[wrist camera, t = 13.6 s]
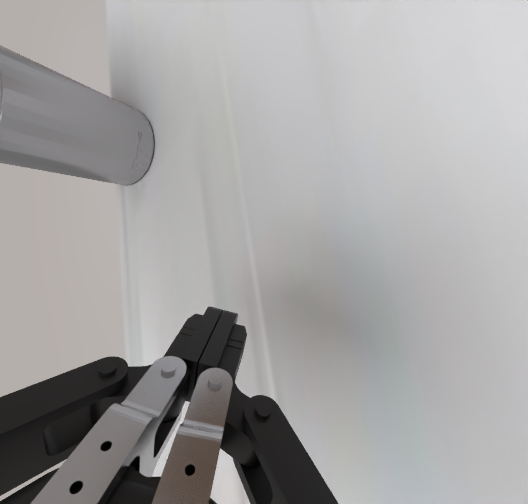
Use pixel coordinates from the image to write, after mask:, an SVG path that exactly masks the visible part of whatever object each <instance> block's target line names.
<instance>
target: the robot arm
mask: <svg viewBox="0 0 528 504" xmlns="http://www.w3.org/2000/svg"><path fill="white" fill-rule="evenodd" d="M153 149H154V138H153V133H152V129H151V126H150V123H149V122H148V120H147V118H146V117H145V116H144V115H143V114H142V113H141V112H139V111H137V110H136V109H133V108H131V107H129V106H127V105H125V104H123V103H121V102H119V101H116V100H114V99H112V98H110V97H108V96H106V95H104V94H102V93H100V92H98V91H96V90H93V89H91V88H89V87H87V86H85V85H83V84H81V83H79V82H77V81H74V80H72V79H70V78H68V77H66V76H64V75H61V74H60V73H57V72H56V71H53V70H51V69H49V68H47V67H45V66H43V65H41V64H39V63H36V62H34V61H32V60H30V59H28V58H26V57H24V56H22V55H20V54H17V53H15V52H13V51H11V50H9V49H7V48H5V47H3V46H0V163H4V164H10V165H15V166H21V167H27V168H33V169H38V170H44V171H49V172H55V173H60V174H65V175H71V176H77V177H82V178H88V179H93V180H98V181H104V182H110V183H115V184H121V185H130V184H133V183H135V182H137V181H138V180H139V179H140V178H141V177H143V175H144V174H145V172H146V171H147V169H148V167H149V165H150V162H151V159H152V156H153ZM237 316H238V314H237V313H233V312H229V311H225V310H224V311H223V310H221V309H217V308H213V307H208V308H207V310H206V312H205V313H204V315H199V314H195V315H193V316H191V317H190V318H188V319H187V321H186V322H185V324H184V325H183V328H182V329H181V330H180V332H179V334H178V335H177V336H176V338H175V340H174V341H173V343H172V344H171V346H170V347H169V349H168V350H167V352H166V354H165V355H164V357H162V358H160V359H158V360H157V361H155V362H154V363H153V364H152V365H149V366H141V367H128V364H127V362H126V361H125V360H124V359H122V358H119V357H106V358H102V359H100V360H97V361H94V362H92V363H89V364H87V365H84V366H81V367H79V368H76V369H73V370H71V371H68V372H66V373H63V374H60V375H58V376H55V377H53V378H50V379H47V380H45V381H42V382H39V383H37V384H34V385H31V386H29V387H26V388H24V389H21V390H18V391H16V392H13V393H10V394H8V395H5V396H3V397H0V496H1V495H2V494H4V493H6V492H8V491H10V490H12V489H13V488H15V487H17V486H19V485H21V484H22V483H24V482H26V481H28V480H29V479H31V478H33V477H35V476H36V475H38V474H40V473H42V472H44V471H46V470H47V469H49V468H51V467H53V466H55V465H56V464H58V463H60V462H62V461H64V460H65V459H67V460H66V461H65V462H64V463H63V465H62V466H61V467H60V468H58V469H56V470H54V471H51V472H49V473H47V474H46V475H44V476H42V477H40V478H39V479H37V480H35V481H34V482H32V483H30V484H29V485H27V486H25V487H24V488H22V489H20V490H18V491H17V492H15V493H13V494H12V495H10V496H8V497H7V498H5V499H3V500H2V501H0V504H217V503H216V502H214V501H213V500H212V499H211V498H210V494H211V489H212V484H213V480H214V475H215V470H216V465H217V460H218V455H219V450H220V448H221V449H222V450H223V451H225V452H226V453H227V454H229V455H230V456H231V457H233V461H234V464H235V467H236V469H237V471H238V474H239V476H240V479H241V481H242V484H243V486H244V489H245V491H246V494H247V496H248V499H249V501H250V503H251V504H338V502H337V501H336V499H335V497H334V496H333V494H332V492H331V491H330V489H329V488H328V486H327V484H326V483H325V481H324V479H323V478H322V476H321V474H320V473H319V471H318V470H317V468H316V466H315V465H314V463H313V461H312V460H311V458H310V457H309V455H308V453H307V452H306V450H305V448H304V447H303V445H302V443H301V442H300V440H299V439H298V437H297V435H296V434H295V432H294V430H293V429H292V427H291V426H290V424H289V422H288V421H287V419H286V417H285V416H284V414H283V413H282V411H281V409H280V408H279V406H278V405H277V403H276V402H275V401H274V400H273V399H271V398H269V397H267V396H263V395H257V396H254V397H251V398H249V397H248V396H246V395H245V394H243V393H242V392H241V391H240V390H239V389H238V388H237V386H236V384H235V379H236V376H237V372H238V369H239V366H240V362H241V359H242V355H243V350H244V346H245V341H246V336H247V333H246V329H245V326H241V325H238V324H236V322H237ZM185 401H189V402H190V404H189V407H188V410H187V412H186V415H185V418H184V421H183V423H182V424H180V426H179V428H178V431H177V434H176V436H175V439H174V442H173V445H172V448H171V451H170V453H169V456H168V459H167V462H166V465H165V467H164V470H163V473H162V476H161V477H152V475H153V471H154V468H155V466H156V464H157V462H158V460H159V458H160V456H161V454H162V452H163V450H164V448H165V446H166V445H167V443H168V441H169V439H170V437H171V435H172V433H173V431H174V430H175V428H176V426H177V424H178V422H179V420H180V418H181V413H182V407H183V405H184V403H185Z"/></svg>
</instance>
